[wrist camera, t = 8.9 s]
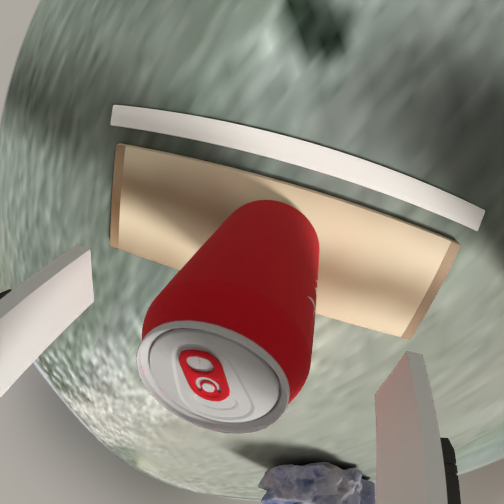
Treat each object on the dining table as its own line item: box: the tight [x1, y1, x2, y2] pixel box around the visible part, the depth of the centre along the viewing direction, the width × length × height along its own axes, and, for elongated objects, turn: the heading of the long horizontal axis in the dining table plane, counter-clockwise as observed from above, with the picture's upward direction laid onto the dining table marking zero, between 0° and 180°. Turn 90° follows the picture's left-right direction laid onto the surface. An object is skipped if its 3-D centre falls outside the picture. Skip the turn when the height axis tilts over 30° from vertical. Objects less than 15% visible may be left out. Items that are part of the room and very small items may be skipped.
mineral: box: [258, 462, 375, 504], centre depth 28 cm, size 14×10×10 cm
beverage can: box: [136, 200, 320, 434], centre depth 15 cm, size 6×6×12 cm
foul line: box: [110, 105, 485, 231], centre depth 18 cm, size 2×26×1 cm, turn 77°
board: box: [110, 143, 461, 340], centre depth 20 cm, size 8×24×1 cm, turn 77°
